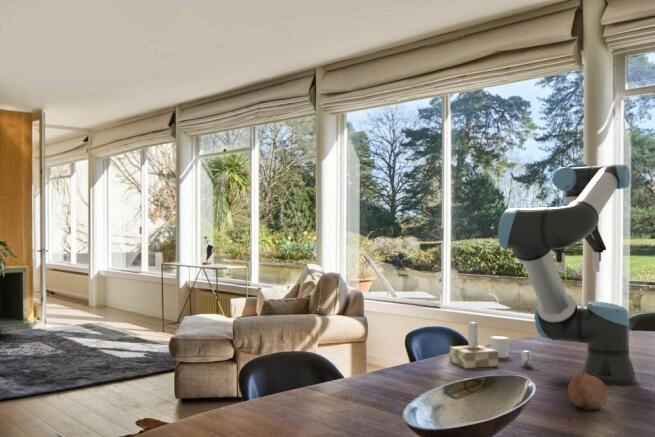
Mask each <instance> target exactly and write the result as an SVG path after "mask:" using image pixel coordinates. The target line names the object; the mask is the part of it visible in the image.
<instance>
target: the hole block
mask: <svg viewBox="0 0 655 437" xmlns="http://www.w3.org/2000/svg"><path fill="white" fill-rule="evenodd" d="M449 361H450V362H452V363H454V364H456V365H458V366H460V367H463V368H465V369H471V368H486V367H487V368H488V367H497V366H499V358H498V351H496V350H493V349H491V347H487V346H485V345H482V344H478V350H469V344H468V345H455V346H452V345H451V346H449Z"/></svg>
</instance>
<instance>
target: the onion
mask: <svg viewBox="0 0 655 437" xmlns="http://www.w3.org/2000/svg"><path fill="white" fill-rule="evenodd" d="M567 388H568V389H567V392H568V396H569V398H570V400H571V402H573V403H574V405H576V406H577V407H579V408H581V409H583V410H584V411H590V412H592V411H596V410H598V409H600V408H601V407H602V406H603V405H606V404H607V402H608V395H609V394H608V393H609V392H608V389H607V385H605V384H604V383H603V382H602V381H601V380H600V379H598V378H597V377H594V376H591V375H589V374H588V373H586V372H582V371H581V373H577V376H575V377H573V378H572V379H571V380H570V381H569V384H568V387H567Z"/></svg>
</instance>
